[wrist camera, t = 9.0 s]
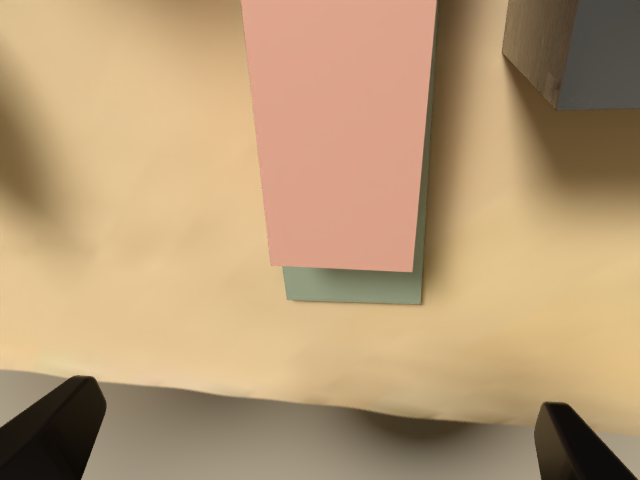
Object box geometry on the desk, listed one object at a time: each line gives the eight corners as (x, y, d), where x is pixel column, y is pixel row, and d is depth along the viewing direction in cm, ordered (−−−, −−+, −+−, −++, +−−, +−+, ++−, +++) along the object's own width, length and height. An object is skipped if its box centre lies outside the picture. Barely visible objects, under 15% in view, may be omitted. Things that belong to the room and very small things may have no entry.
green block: (440, -44, 15) (441, -43, 14) (419, 295, 23) (420, 304, 22) (246, -30, 16) (241, -29, 15) (289, 292, 23) (286, 300, 23)
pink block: (442, -210, 12) (461, -263, 9) (409, 214, 20) (413, 272, 16) (258, -196, 13) (212, -239, 10) (290, 210, 20) (270, 265, 17)
